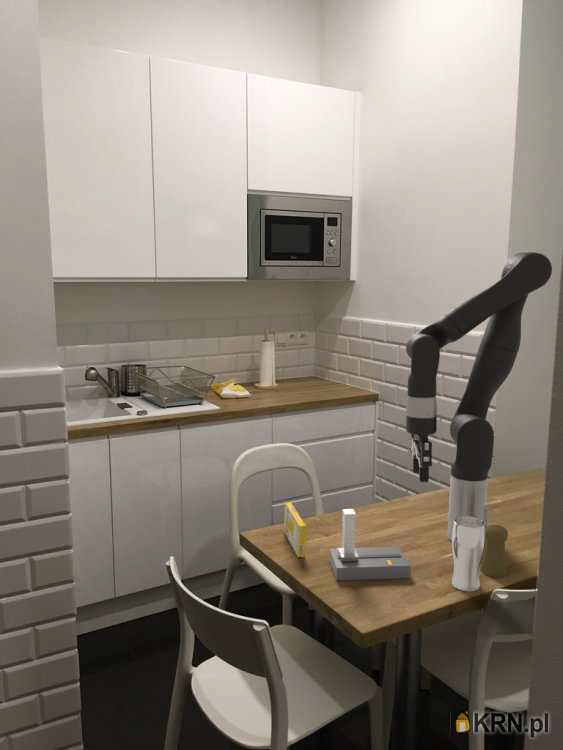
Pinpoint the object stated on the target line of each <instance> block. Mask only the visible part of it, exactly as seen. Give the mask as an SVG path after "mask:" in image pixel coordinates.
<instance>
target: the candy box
mask: <svg viewBox="0 0 563 750" xmlns="http://www.w3.org/2000/svg"><path fill="white" fill-rule="evenodd" d="M283 521H284V525H283V526H284V527H283V532H284V534H285V537H286V538H287V539H288V542H289V544H290V546H291V547H292V550H293V552H294V553H295V555H296V557H297V558H298V557H301V558H305V556H306V543H307V542H306V541H307V539H306V538H307V525H306V524H305V522H304V520H303V518H301V516H300V514H299V512H298V511H297V510H296V508H295V506H294V505H293V503H292V502H285V505H284V520H283Z"/></svg>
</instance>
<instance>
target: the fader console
mask: <svg viewBox="0 0 563 750" xmlns="http://www.w3.org/2000/svg"><path fill="white" fill-rule="evenodd" d="M338 548H339V547H337V548H329V560H328V561H329V563H330V566H331V568H332V572H333V575H334V578H335V581H357V580H358V581H359V580H360V581H361V580H386V579H387V580H388V579H410V578H411V566H412V565H411V564H410V562H409V561H408V559H407V558H406V556H405V554H404V552H403V551H402V550H401V548H400V546H381V547H379V546H378V547H375V546H374V547H355V550H356V552H357V554H358V556H359V561H342V562H341V559H340V557H339V554H338Z"/></svg>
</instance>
